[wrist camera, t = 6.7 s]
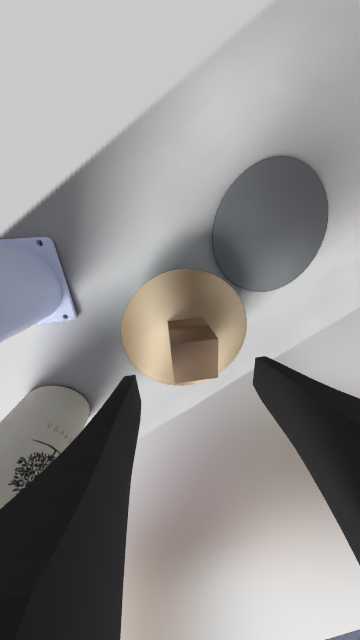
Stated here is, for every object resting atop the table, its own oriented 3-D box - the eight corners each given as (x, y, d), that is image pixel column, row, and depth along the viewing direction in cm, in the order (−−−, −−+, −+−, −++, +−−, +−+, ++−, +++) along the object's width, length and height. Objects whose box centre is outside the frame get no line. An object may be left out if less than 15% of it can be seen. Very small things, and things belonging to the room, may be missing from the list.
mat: (212, 295, 19) (214, 296, 18) (212, 162, 15) (214, 158, 14) (309, 285, 20) (313, 286, 19) (336, 158, 16) (342, 154, 15)
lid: (134, 386, 17) (125, 434, 12) (109, 274, 13) (83, 284, 8) (239, 371, 18) (266, 410, 13) (246, 263, 14) (289, 266, 9)
